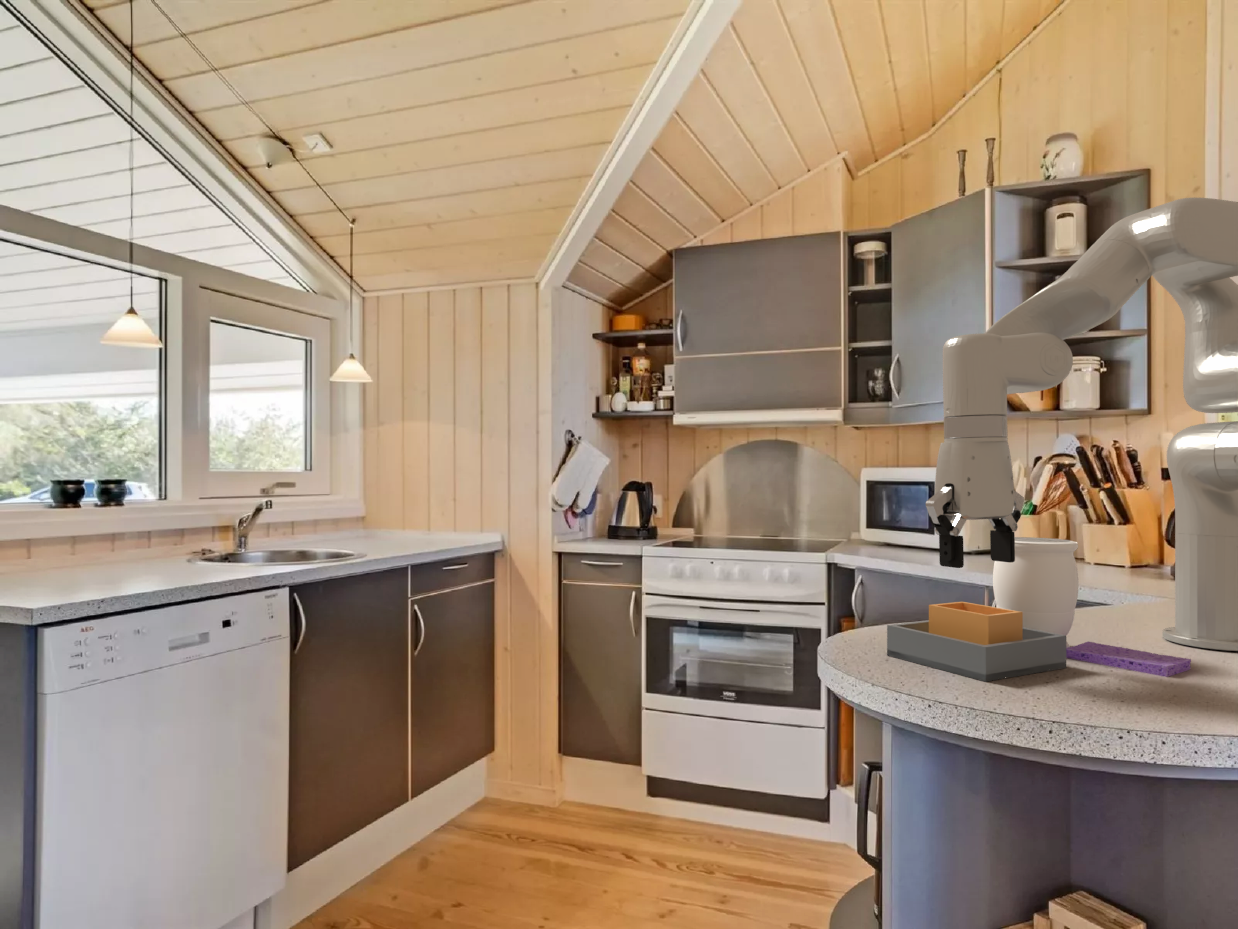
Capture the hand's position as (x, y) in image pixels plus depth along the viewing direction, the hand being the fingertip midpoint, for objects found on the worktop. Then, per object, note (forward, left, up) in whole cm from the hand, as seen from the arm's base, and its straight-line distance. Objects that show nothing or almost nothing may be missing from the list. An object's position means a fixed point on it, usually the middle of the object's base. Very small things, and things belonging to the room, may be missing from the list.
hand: (977, 564), depth 104 cm
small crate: (0, 0, -12) cm, 12 cm away
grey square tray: (+1, 0, -13) cm, 13 cm away
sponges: (-16, +9, -13) cm, 23 cm away
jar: (-14, -2, -13) cm, 19 cm away
